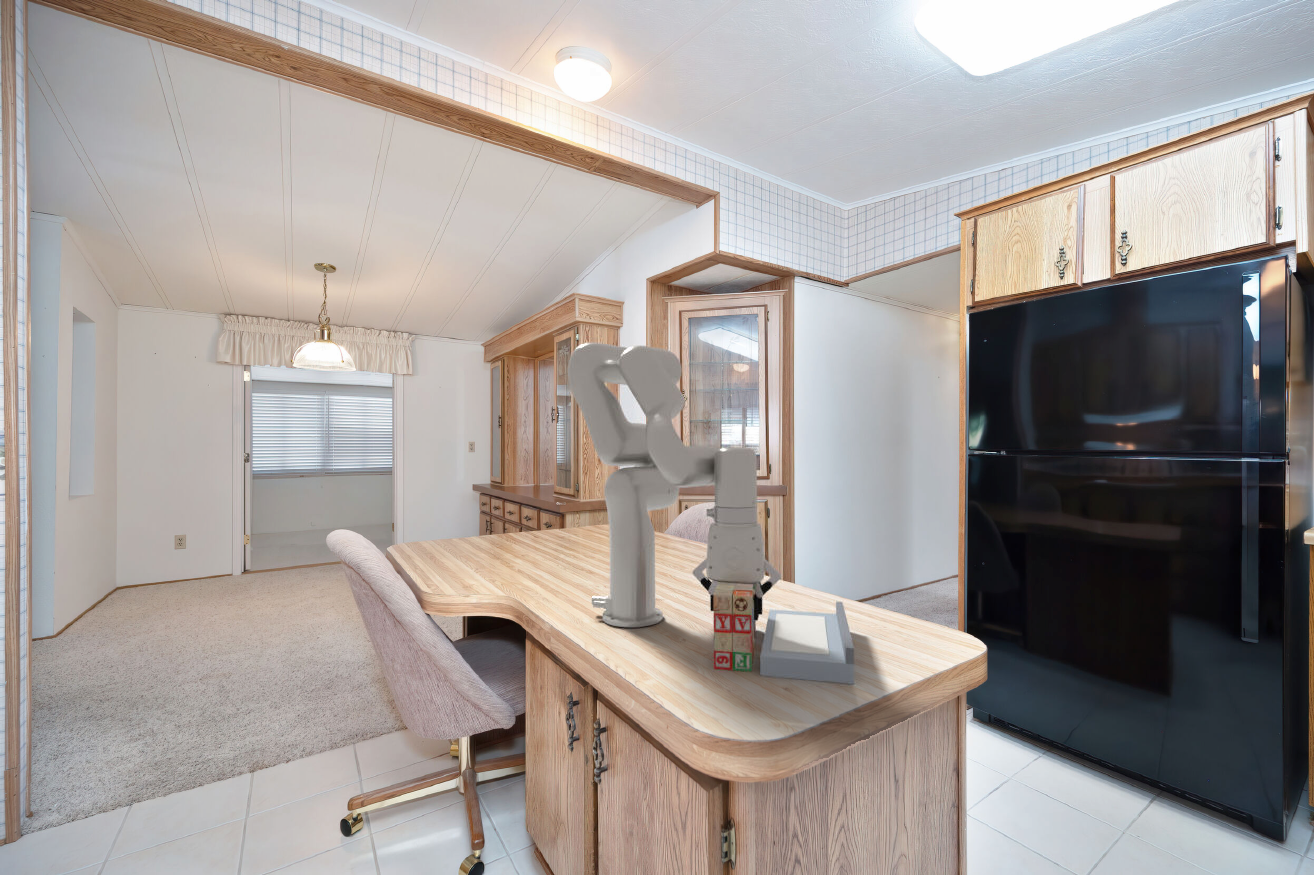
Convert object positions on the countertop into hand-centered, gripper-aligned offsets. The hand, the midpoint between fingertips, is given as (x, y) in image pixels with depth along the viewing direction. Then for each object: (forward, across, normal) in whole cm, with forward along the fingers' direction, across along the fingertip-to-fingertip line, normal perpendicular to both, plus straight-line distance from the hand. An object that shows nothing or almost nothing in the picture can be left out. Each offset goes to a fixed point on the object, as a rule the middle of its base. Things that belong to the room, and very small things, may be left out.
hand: (736, 615), depth 101 cm
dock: (+6, +12, +2) cm, 13 cm away
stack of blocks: (+6, 0, 0) cm, 6 cm away
